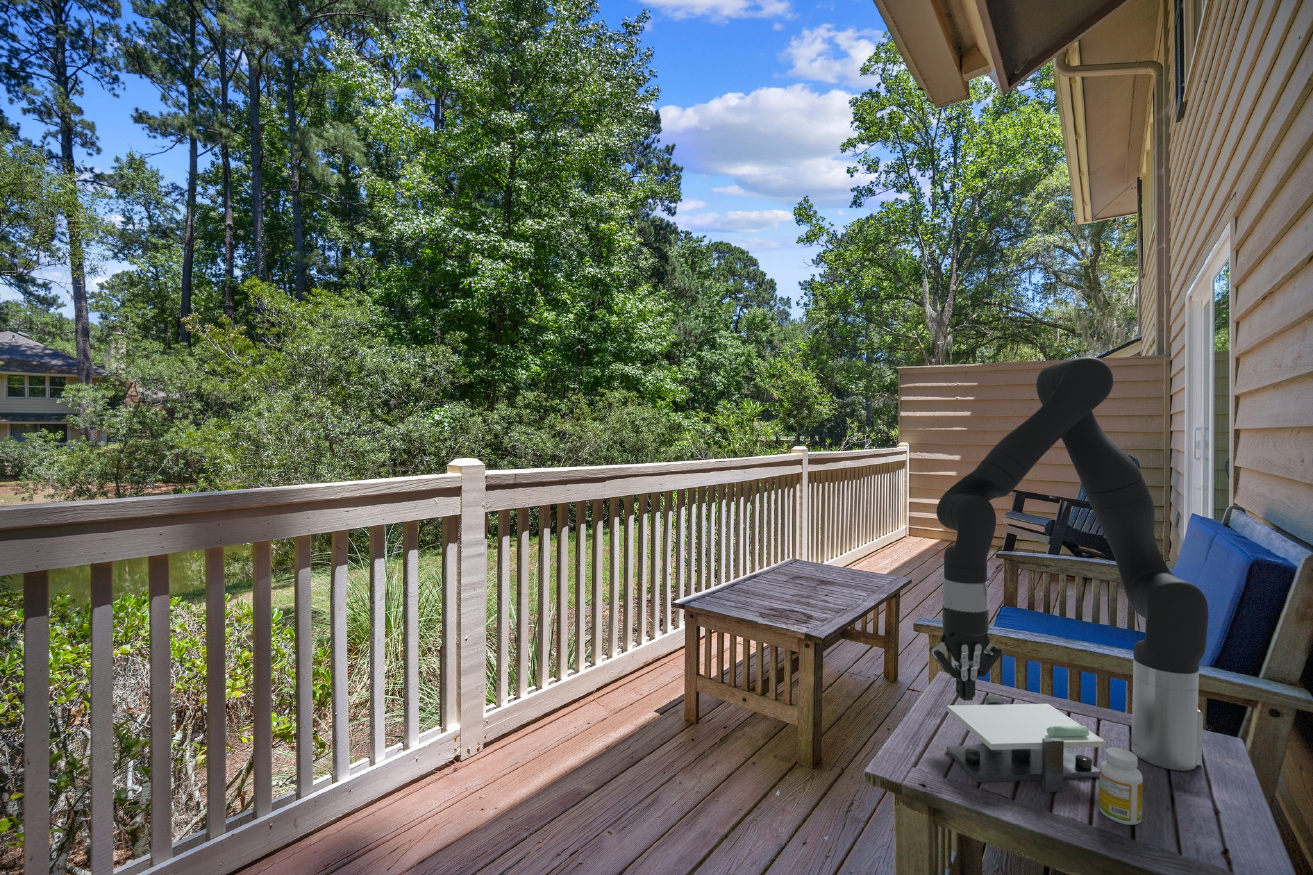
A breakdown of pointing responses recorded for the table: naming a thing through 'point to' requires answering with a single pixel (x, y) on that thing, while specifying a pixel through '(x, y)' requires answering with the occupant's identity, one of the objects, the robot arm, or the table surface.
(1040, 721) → the levelling plate
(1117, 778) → the supplement bottle
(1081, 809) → the table surface
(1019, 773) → the base
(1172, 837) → the table surface
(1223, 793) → the table surface
